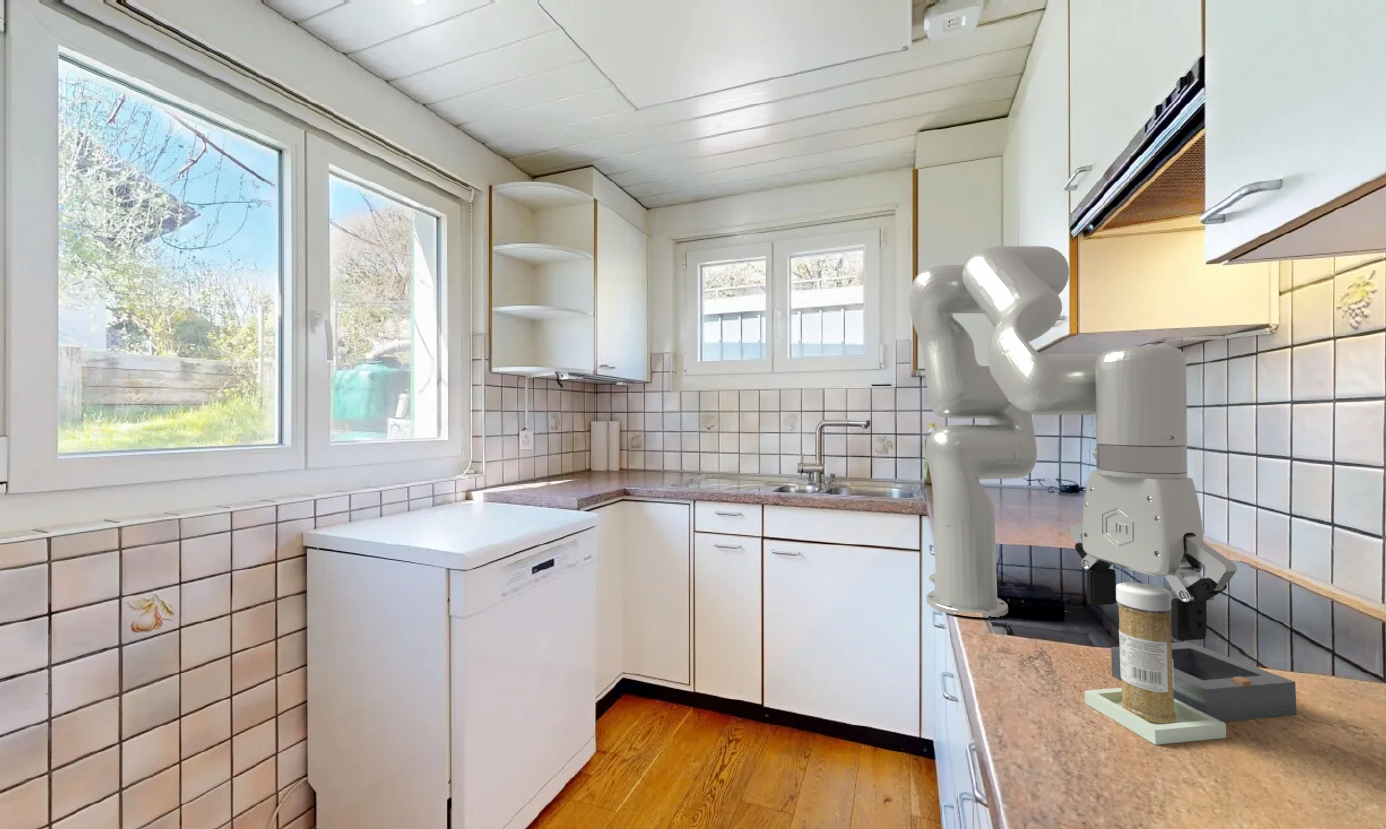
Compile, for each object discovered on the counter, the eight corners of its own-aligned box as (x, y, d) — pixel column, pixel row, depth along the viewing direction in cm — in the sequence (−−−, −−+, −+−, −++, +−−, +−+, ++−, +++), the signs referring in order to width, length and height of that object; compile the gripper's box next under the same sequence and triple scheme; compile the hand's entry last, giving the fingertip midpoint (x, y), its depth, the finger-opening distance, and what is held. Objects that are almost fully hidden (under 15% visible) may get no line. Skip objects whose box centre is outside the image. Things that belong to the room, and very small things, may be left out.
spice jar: (1182, 717, 56) (1178, 588, 56) (1167, 730, 54) (1162, 595, 54) (1129, 698, 60) (1125, 578, 60) (1112, 710, 57) (1108, 585, 58)
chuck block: (1112, 675, 66) (1110, 644, 67) (1188, 669, 68) (1187, 639, 68) (1207, 723, 56) (1206, 686, 56) (1296, 715, 57) (1295, 679, 57)
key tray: (1085, 703, 60) (1084, 690, 60) (1147, 698, 61) (1147, 685, 61) (1155, 744, 52) (1154, 730, 52) (1226, 737, 53) (1225, 723, 53)
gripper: (1045, 456, 66) (1047, 595, 66) (1194, 471, 48) (1196, 659, 48) (1100, 455, 67) (1101, 592, 67) (1265, 469, 49) (1267, 653, 49)
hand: (1141, 620), depth 57 cm, fingers open, 9 cm apart
